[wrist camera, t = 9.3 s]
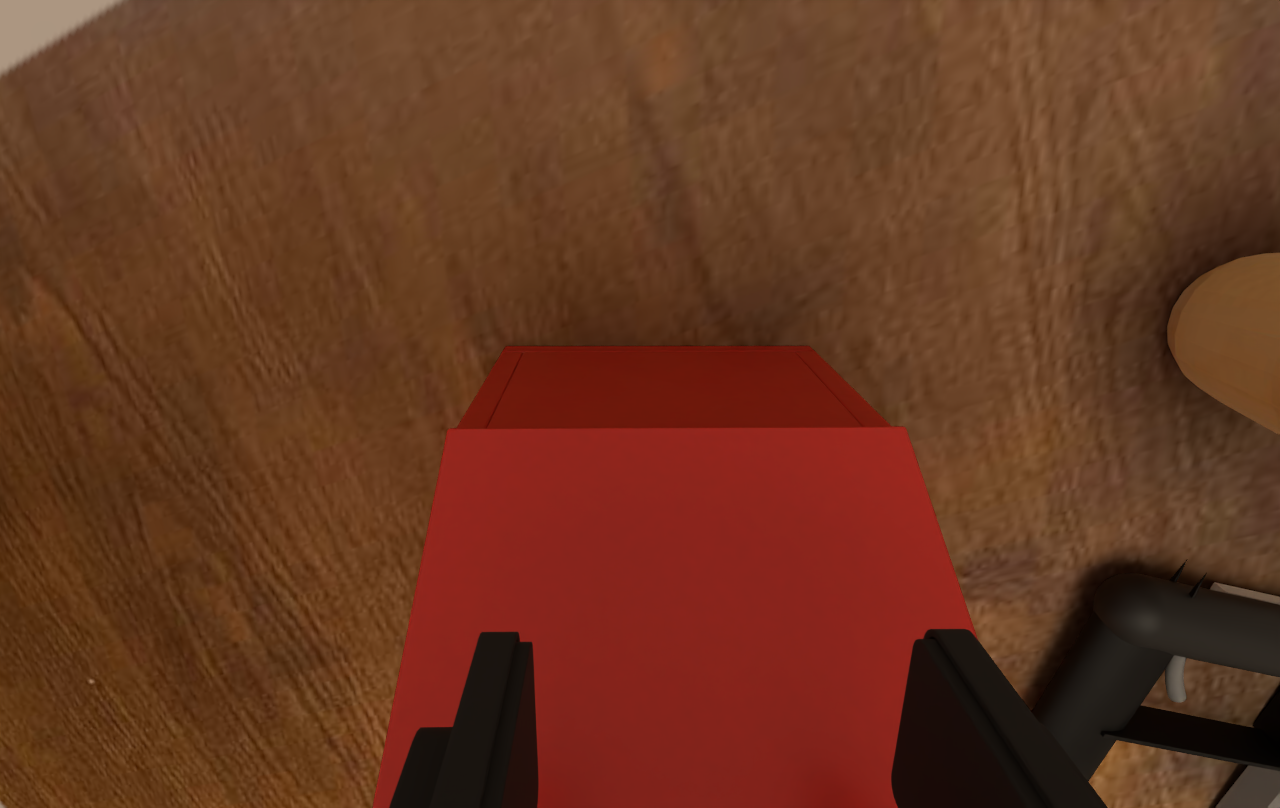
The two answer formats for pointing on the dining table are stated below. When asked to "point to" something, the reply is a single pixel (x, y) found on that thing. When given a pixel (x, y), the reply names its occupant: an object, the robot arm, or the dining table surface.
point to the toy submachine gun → (1168, 677)
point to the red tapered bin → (665, 389)
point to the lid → (684, 608)
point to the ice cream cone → (1233, 336)
